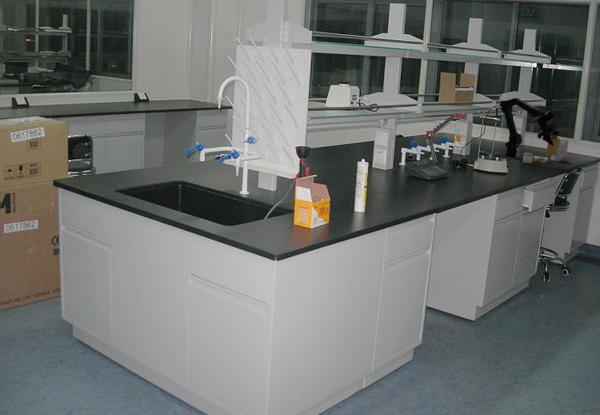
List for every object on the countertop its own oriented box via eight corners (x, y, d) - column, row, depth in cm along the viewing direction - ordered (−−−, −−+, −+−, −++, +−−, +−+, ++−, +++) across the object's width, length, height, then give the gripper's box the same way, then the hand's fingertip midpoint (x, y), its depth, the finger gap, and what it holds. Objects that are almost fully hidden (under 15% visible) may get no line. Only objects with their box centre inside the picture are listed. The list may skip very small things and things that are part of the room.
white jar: (522, 162, 459) (523, 153, 458) (522, 161, 465) (524, 152, 463) (531, 163, 457) (533, 154, 456) (532, 162, 463) (533, 153, 461)
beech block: (533, 161, 468) (533, 157, 467) (533, 160, 476) (534, 155, 475) (547, 164, 465) (547, 159, 464) (547, 162, 473) (548, 157, 472)
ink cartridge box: (560, 159, 486) (564, 139, 482) (565, 161, 481) (569, 140, 477) (550, 159, 483) (554, 138, 480) (554, 160, 479) (558, 139, 475)
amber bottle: (545, 153, 457) (549, 135, 454) (550, 153, 460) (553, 135, 457) (552, 155, 453) (556, 136, 450) (556, 155, 456) (560, 136, 453)
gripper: (544, 118, 448) (556, 138, 442) (561, 118, 459) (572, 137, 454) (532, 128, 456) (543, 148, 450) (548, 127, 467) (559, 147, 462)
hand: (555, 145), depth 454 cm, fingers closed on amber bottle, 5 cm apart
